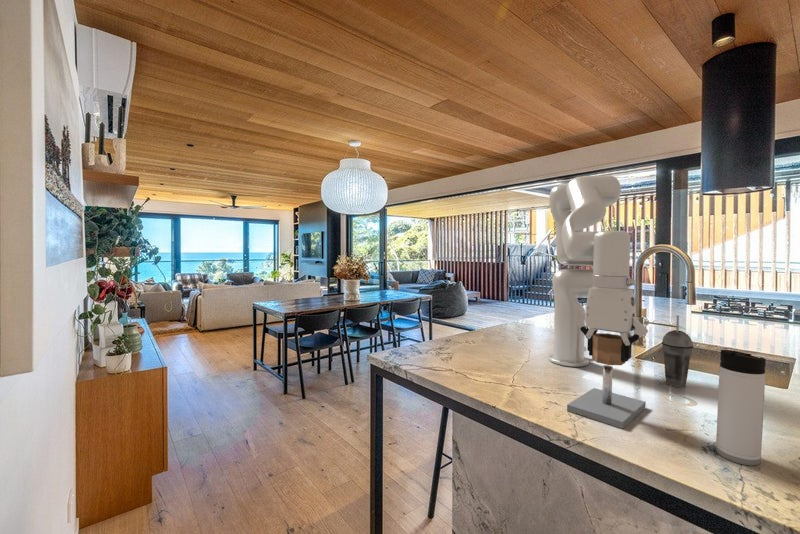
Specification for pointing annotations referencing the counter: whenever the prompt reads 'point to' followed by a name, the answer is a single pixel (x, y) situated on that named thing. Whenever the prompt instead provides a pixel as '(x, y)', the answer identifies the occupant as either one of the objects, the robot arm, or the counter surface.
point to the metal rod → (607, 385)
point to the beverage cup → (677, 356)
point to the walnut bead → (607, 349)
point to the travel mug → (740, 407)
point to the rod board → (607, 408)
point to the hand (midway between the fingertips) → (608, 357)
